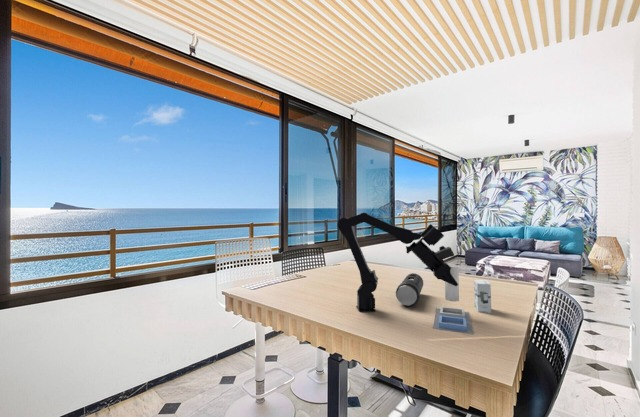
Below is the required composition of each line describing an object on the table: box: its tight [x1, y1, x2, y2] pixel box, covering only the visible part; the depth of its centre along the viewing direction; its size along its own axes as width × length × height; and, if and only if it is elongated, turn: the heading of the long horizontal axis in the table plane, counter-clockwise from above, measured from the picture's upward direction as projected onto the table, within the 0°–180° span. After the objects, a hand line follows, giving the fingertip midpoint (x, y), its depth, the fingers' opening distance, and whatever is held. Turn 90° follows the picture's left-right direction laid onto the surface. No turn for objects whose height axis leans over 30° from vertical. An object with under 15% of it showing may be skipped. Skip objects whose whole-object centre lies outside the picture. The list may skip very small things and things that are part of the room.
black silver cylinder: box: [395, 273, 424, 307], centre depth 131 cm, size 10×28×10 cm, turn 156°
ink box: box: [473, 279, 492, 314], centre depth 116 cm, size 9×5×12 cm, turn 160°
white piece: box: [444, 265, 460, 302], centre depth 110 cm, size 5×5×12 cm
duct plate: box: [432, 306, 474, 335], centre depth 104 cm, size 24×12×2 cm, turn 155°
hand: (455, 283), depth 109 cm, fingers closed on white piece, 5 cm apart
